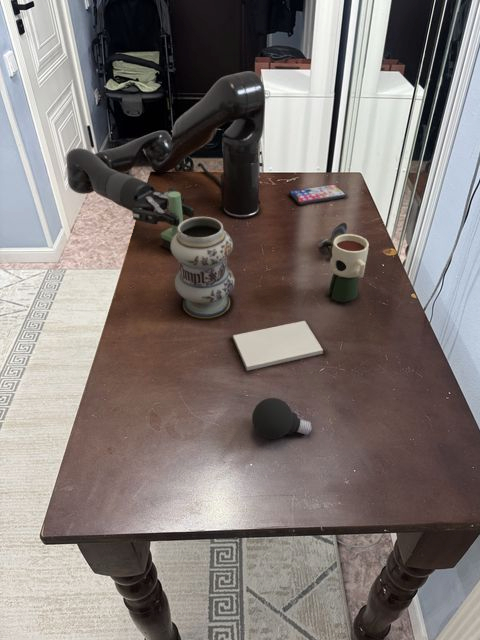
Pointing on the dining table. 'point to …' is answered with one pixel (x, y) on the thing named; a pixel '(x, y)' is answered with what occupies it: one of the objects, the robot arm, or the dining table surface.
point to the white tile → (276, 345)
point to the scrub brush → (176, 210)
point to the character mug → (347, 266)
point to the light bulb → (277, 419)
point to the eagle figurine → (329, 242)
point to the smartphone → (317, 194)
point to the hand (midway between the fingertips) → (185, 217)
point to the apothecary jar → (203, 266)
